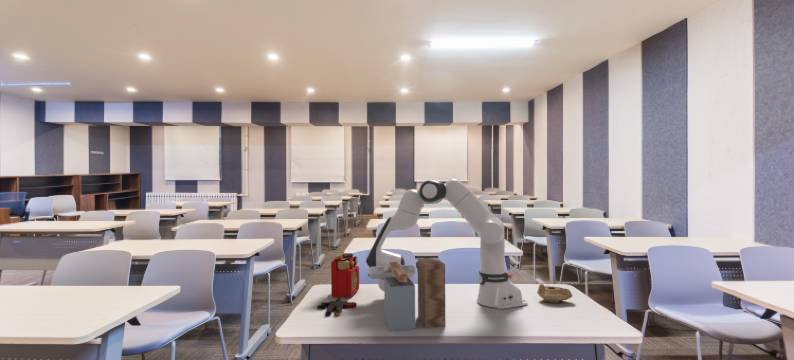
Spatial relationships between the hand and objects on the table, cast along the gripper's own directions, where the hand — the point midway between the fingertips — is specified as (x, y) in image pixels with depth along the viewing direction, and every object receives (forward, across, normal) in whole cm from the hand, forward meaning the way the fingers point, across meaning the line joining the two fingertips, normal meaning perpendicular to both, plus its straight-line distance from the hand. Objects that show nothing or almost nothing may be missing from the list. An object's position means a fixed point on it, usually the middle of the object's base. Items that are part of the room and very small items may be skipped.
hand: (394, 266), depth 157 cm
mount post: (-1, +13, +23) cm, 26 cm away
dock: (-1, 0, +23) cm, 23 cm away
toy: (-21, -25, +12) cm, 35 cm away
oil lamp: (-13, +76, +17) cm, 79 cm away
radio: (-40, -19, +1) cm, 44 cm away
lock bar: (+5, 0, +5) cm, 7 cm away
